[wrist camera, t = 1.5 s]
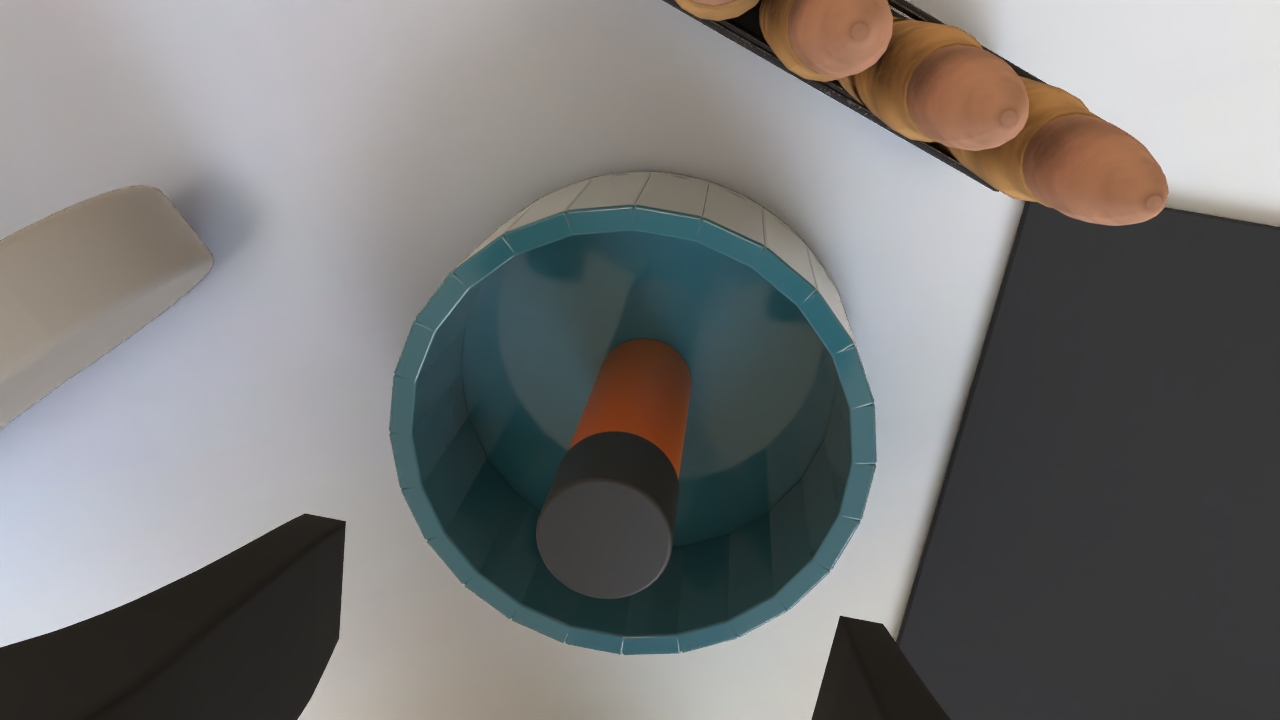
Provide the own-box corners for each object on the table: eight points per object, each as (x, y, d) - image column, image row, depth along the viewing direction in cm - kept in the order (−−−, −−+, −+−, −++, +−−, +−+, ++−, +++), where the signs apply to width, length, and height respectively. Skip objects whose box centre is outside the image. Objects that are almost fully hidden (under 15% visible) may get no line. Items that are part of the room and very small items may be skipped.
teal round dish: (805, 587, 26) (816, 693, 22) (430, 516, 26) (373, 607, 22) (899, 212, 22) (932, 257, 18) (467, 136, 23) (409, 165, 19)
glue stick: (684, 435, 24) (659, 611, 17) (590, 417, 24) (527, 586, 17) (701, 345, 23) (683, 493, 16) (604, 327, 24) (544, 466, 17)
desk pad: (1452, 818, 26) (1460, 826, 26) (877, 705, 27) (878, 713, 26) (1739, 307, 21) (1753, 311, 21) (1030, 184, 22) (1034, 186, 22)
